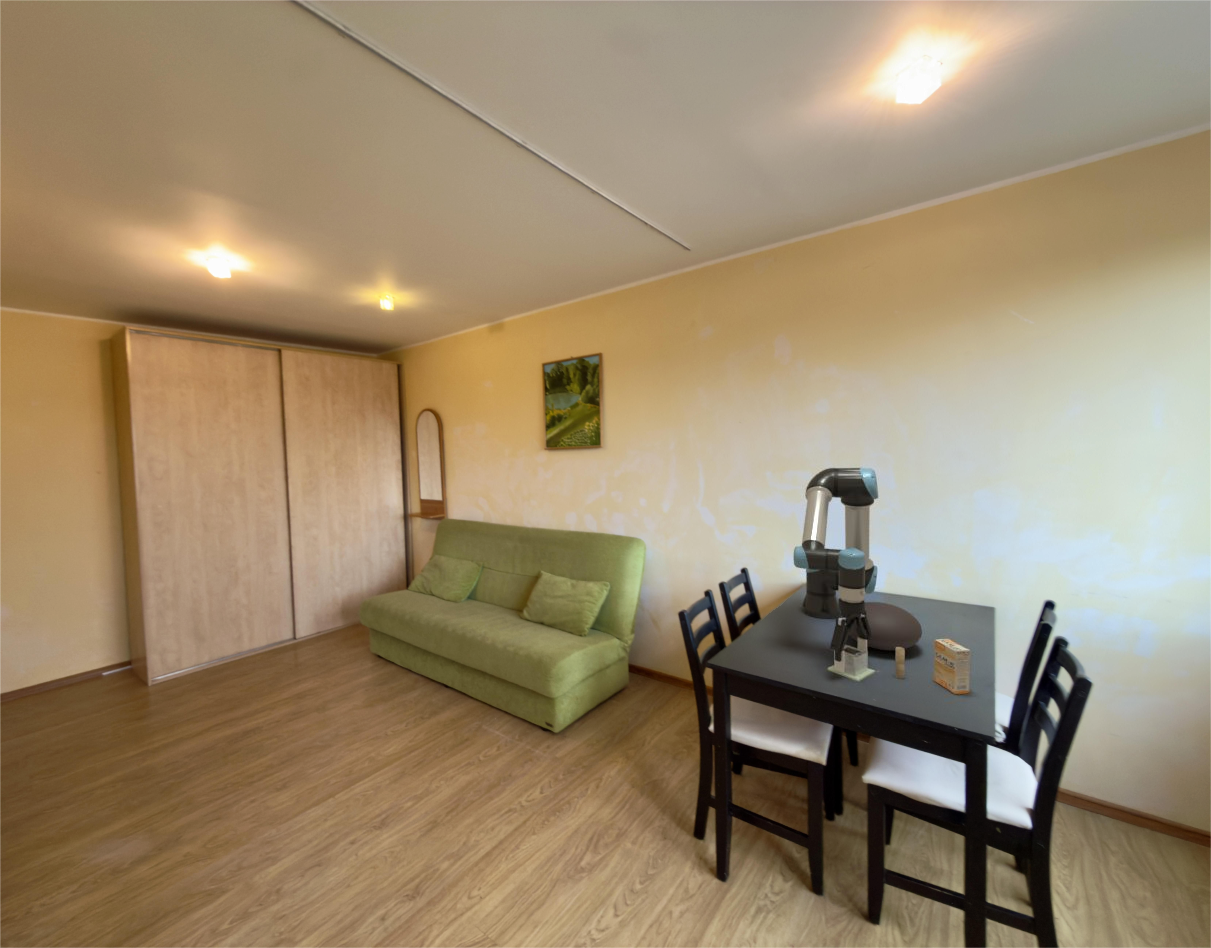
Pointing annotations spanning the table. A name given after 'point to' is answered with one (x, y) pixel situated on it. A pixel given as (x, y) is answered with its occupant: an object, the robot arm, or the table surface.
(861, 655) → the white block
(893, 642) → the flattened ellipsoid
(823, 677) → the table surface
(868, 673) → the mat
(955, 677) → the supplement box
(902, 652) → the dowel
